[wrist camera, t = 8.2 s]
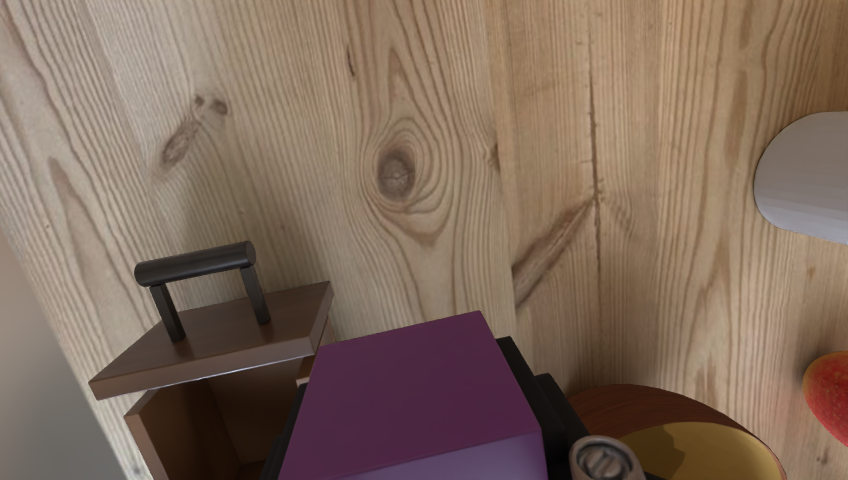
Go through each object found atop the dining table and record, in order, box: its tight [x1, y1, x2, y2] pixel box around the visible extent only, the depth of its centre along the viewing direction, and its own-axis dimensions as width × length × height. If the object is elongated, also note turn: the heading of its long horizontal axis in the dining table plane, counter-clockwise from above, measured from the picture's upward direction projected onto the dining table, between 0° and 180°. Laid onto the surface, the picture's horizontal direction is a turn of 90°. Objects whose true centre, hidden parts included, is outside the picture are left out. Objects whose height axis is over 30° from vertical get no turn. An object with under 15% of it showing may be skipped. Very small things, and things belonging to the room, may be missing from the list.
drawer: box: [88, 241, 336, 480], centre depth 25 cm, size 18×11×8 cm, turn 10°
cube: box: [278, 310, 548, 480], centre depth 10 cm, size 5×5×5 cm
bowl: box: [567, 384, 787, 480], centre depth 30 cm, size 18×18×10 cm
